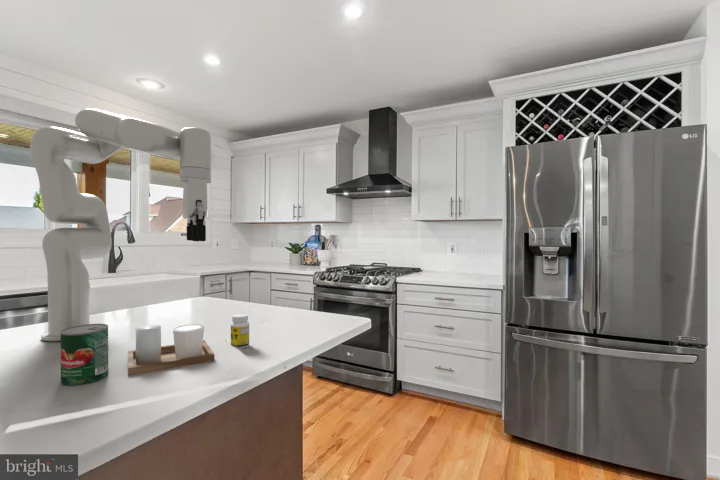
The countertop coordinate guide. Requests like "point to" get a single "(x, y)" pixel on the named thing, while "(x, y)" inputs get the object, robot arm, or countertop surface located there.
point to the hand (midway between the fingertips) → (195, 240)
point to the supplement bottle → (240, 331)
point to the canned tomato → (84, 354)
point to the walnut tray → (168, 360)
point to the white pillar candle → (148, 344)
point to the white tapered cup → (188, 340)
